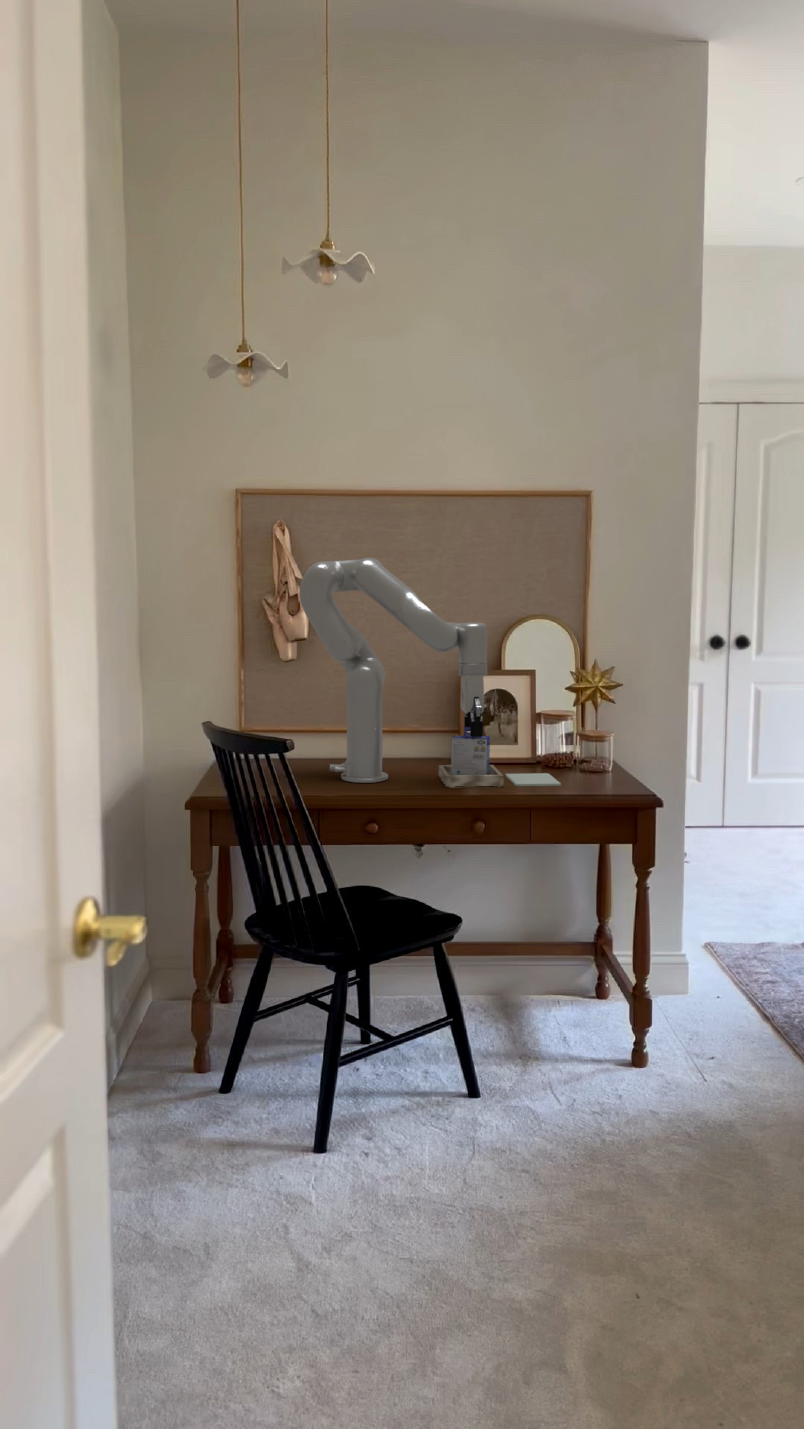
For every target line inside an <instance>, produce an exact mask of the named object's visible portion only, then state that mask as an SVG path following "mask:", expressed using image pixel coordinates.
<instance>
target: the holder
mask: <svg viewBox="0 0 804 1429" xmlns="http://www.w3.org/2000/svg"><path fill="white" fill-rule="evenodd" d="M438 777H439V779H440V778H441V779H440V781H441V782H442V781H443V782H442V783H443V785H444V784H445V785H444V787H449V788H456V787H455V786H495V787H494V788H503V787H504V774H502V772H501V771H500V770H499V769H498V768H497V767H496V766H495V765H494V764H489V775H451V764H450V765H446V764H445V765H444V764H443V765H438ZM496 786H497V787H496ZM502 786H503V787H502Z"/></svg>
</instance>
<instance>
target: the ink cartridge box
mask: <svg viewBox="0 0 804 1429" xmlns="http://www.w3.org/2000/svg"><path fill="white" fill-rule="evenodd" d="M467 730H470V727H465V730H464V734H463V735H457V734H456V735H454V736H452V737H451V746H450V747H451V752H450V753H451V754H450V755H451V756H450V762H451V764H450V765H451V775H489V765H490V753H491V745H490V743H491V736H489V735H488V736H487V735H483V736H482V737H471V736H470V731H467Z"/></svg>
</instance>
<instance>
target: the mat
mask: <svg viewBox="0 0 804 1429" xmlns="http://www.w3.org/2000/svg"><path fill="white" fill-rule="evenodd" d="M505 777H506V778H507V779H508V780H509V781H510V782H511V783H512V784H513V785H514V786H515V787H562V783H561V782H560V781H559V780H557V779H556V778H555V777H554V776H552V775H551V774H550V773H548V772H547V773H546V772H543V773H539V772H538V773H505Z"/></svg>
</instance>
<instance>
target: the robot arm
mask: <svg viewBox="0 0 804 1429" xmlns="http://www.w3.org/2000/svg"><path fill="white" fill-rule="evenodd" d="M358 591H361V592H363V594H365V595H367V597H369V598H370V599H371V600H372V601H374V602H375V603H376V604H378V605H379V606H380V607H381V608H383V609H384V610H385V611H386V612H387V613H389V615H391V616H393V618H394V619H396V620H397V621H398V622H399V623H401V624H402V625H403V626H404V627H406V628H407V629H408V630H409V631H410V632H411V633H412V634H414V635H415V637H417V638H418V639H420V640H421V641H422V642H423V643H424V644H426V645H427V646H428V647H430V648H431V649H432V650H434V651H436V652H437V653H448V652H449V651H452V650H454V649H458V676H460V677H461V680H460V681H461V682H460V686H461V687H460V710H461V711H462V712H464V716H463V720H464V721H463V722H464V726H463V728H464V731H465V727H470V730H467V732H470V736H471V737H482V736H484V724H483V723H484V722H483V712H484V710H485V684H484V683H485V682H484V677H485V676H488V627H487V625H486V624H485V623H483V622H465V623H464V622H463V623H460V622H459V623H457V622H451V621H450V622H448V621H445V620H443V619H442V618H441V617H440V616H439V615H438V614H436V613H435V612H434V611H432V610H431V609H430V608H429V607H428V606H427V605H426V604H425V603H424V602H423V601H422V600H421V598H420V597H419V596H418V595H417V593H416V592H415V591H414V590H413V589H412V588H410V587H409V586H408V585H407V584H405V583H404V582H403V581H402V580H401V579H400V578H398V577H397V576H395V574H393V573H392V572H391V571H389V570H388V569H387V568H386V567H384V564H382V562H381V561H379V560H378V559H376V558H373V557H364V558H360V559H346V560H330V561H329V560H328V561H326V560H324V561H317V562H315V563H313V564H312V565H310V567H309V568H308V569H307V570H306V572H305V573H304V575H303V577H302V579H301V582H300V585H299V600H300V606H301V608H302V610H303V612H304V614H305V616H306V618H307V619H308V620H309V622H310V624H311V626H312V627H313V629H314V631H315V633H316V634H317V635H318V638H319V639H320V641H321V642H322V644H323V646H324V647H325V649H326V651H327V653H328V655H329V656H330V657H331V659H333V660H334V661H336V662H339V663H340V665H341V667H342V668H343V669H344V671H345V673H346V679H345V696H346V760H345V761H344V762H342V763H341V764H338V763H337V764H336V763H330V764H329V772H334V773H340V772H341V774H340V778H341V779H342V780H343V781H345V782H350V783H356V784H357V783H361V784H367V783H369V784H371V783H380V782H383V781H387V780H388V779H389V774H388V773H387V772H384V771H383V687H384V684H385V681H386V670H385V668H384V666H383V664H382V663H381V661H380V660H379V658H378V657H377V655H376V653H375V651H374V650H373V648H372V647H371V645H370V643H369V642H368V640H367V638H366V637H365V636H364V634H363V633H362V631H360V630H359V628H356V627H355V626H354V625H353V626H352V625H350V622H348V620H347V618H346V617H345V616H344V615H343V612H342V611H341V609H340V607H339V606H338V605H337V603H336V601H335V600H334V597H333V593H342V592H346V593H347V592H358Z"/></svg>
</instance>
